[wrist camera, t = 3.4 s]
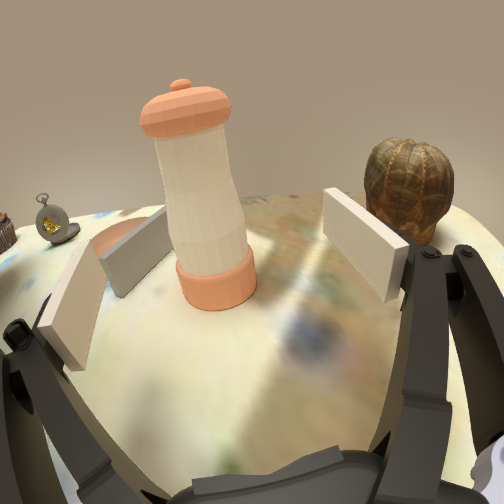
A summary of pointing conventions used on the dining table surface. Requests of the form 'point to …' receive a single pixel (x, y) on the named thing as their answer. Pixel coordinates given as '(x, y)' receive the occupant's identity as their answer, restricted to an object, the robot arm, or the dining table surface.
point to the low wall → (137, 253)
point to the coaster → (114, 234)
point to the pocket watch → (54, 223)
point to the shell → (409, 186)
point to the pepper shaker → (201, 195)
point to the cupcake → (6, 233)
